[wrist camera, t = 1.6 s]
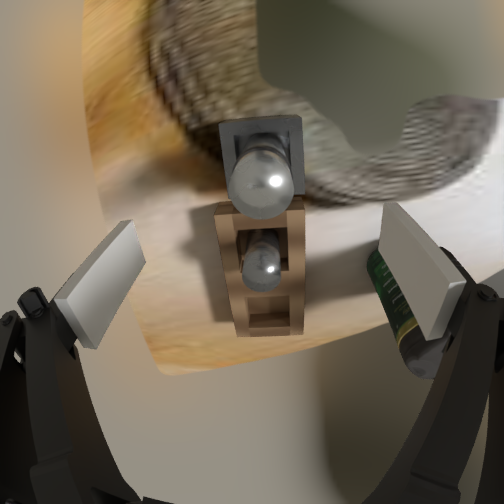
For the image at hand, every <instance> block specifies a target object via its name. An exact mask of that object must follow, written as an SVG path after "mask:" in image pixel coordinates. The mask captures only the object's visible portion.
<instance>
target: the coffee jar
mask: <svg viewBox="0 0 504 504" xmlns="http://www.w3.org/2000/svg"><path fill="white" fill-rule="evenodd" d="M367 271H368V273H369V275H370V278H371V280H372V282H373V284H374V287H375V289H376V291H377V293H378V296H379V298H380V300H381V303H382V305H383V308H384V310H385V313H386V315H387V318H388V320H389V323H390V326H391V328H392V331H393V333H394V336H395V339H396V341H397V345H398V348H399V350H400V353H401V355H402V358H403V360H404V362H405V365H406V366H407V367H408V369H409V370H410V371H411V372H412V373H413V374H414V375H416V376H417V377H419V378H422V379H434V378H435V376H436V373H437V371H438V368H439V365H440V362H441V359H442V356H443V354H444V353H442V350H443V348H444V346H445V344H446V342H447V340H448V339H449V337H450V335H451V332H450V330H449V328H448V326H447V328H446V330H445V332H444V334H443V336H442V338H437V339H432V340H428V341H426V339H425V337H424V334H423V332H422V330H421V328H420V326H419V324H418V322H417V320H416V318H415V316H414V314H413V312H412V310H411V308H410V306H409V304H408V302H407V300H406V298H405V296H404V294H403V293H402V291H401V289H400V287H399V285H398V283H397V282H396V280H395V278H394V276H393V274H392V273H391V271H390V269H389V267H388V266H387V264H386V262H385V260H384V259H383V257H382V255H381V254H380V252H379V250H378V249H377V250H375V252H374V253H373V254H372V255H371V256H370V258H369V260H368V262H367Z"/></svg>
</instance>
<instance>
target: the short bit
mask: <svg viewBox="0 0 504 504" xmlns="http://www.w3.org/2000/svg"><path fill="white" fill-rule="evenodd" d="M242 280H243V282H244V284H245V285H246V286H247V287H248V288H249V289H251V290H253V291H256V292H268V291H271V290H273V289H274V288H276V287H277V286H278V285H279V283H280V281H281V265H280V246H279V235H278V233H277V231H276V230H275V229H274V228H261V229H251V230H250V231H249V233H248V236H247V243H246V250H245V257H244V264H243V271H242Z"/></svg>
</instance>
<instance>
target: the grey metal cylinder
mask: <svg viewBox="0 0 504 504" xmlns="http://www.w3.org/2000/svg"><path fill="white" fill-rule="evenodd" d="M292 180H293V175H292V169H291V166H290V163H289V161H288V159H287V158H286V155H285V152H284V148H283V145H282V143H281V141H280V140H279V139H278V138H277V137H275V136H274V135H272V134H269V133H259V134H256V135H254V136H252V137H251V138H250V139H249V140H248V141H247V143H246V145H245V147H244V149H243V151H242V153H241V155H240V156H239V157H238V159H237V160H236V162H235V164H234V167H233V170H232V176H231V179H230V182H229V196H230V199H231V201H232V203H233V205H234V206H235V208H236V209H237V210H238V211H239V212H241V213H242V214H244V215H245V216H247V217H250V218H253V219H260V220H264V219H270V218H273V217H276V216H278V215H280V214H281V213H282V212H284V211H285V210H286V209H287V207H288V206H289V205H290V203H291V201H292V198H293V194H294V185H293V181H292Z"/></svg>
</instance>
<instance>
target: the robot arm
mask: <svg viewBox="0 0 504 504" xmlns="http://www.w3.org/2000/svg"><path fill="white" fill-rule="evenodd" d="M378 250H379V252H380V254H381V255H382V257H383V259H384V260H385V262H386V264H387V266H388V267H389V269H390V271H391V273H392V274H393V276H394V278H395V280H396V282H397V283H398V285H399V287H400V289H401V291H402V293H403V294H404V296H405V298H406V300H407V302H408V304H409V306H410V308H411V310H412V312H413V314H414V316H415V318H416V320H417V322H418V324H419V326H420V328H421V330H422V332H423V334H424V337H425V339H426V341H428V340H432V339H437V338H442V336H443V334H444V332H445V330H446V328H447V326H448V328H449V330H450V332H451V335H450V337H449V339H448V340H447V342H446V344H445V346H444V348H443V350H442V353H444V354H443V356H442V359H441V362H440V365H439V368H438V371H437V373H436V376H435V378H434V381H433V384H432V386H431V388H430V391H429V394H428V396H427V398H426V400H425V403H424V405H423V407H422V409H421V412H420V413H419V415H418V418H417V420H416V422H415V424H414V426H413V427H412V429H411V432H410V433H409V435H408V437H407V439H406V441H405V442H404V444H403V446H402V448H401V450H400V451H399V453H398V455H397V457H396V458H395V460H394V462H393V463H392V465H391V466H390V468H389V469H388V471H387V472H386V474H385V475H384V477H383V478H382V480H381V481H380V483H379V485H378V486H377V487H376V488H375V490H374V491H373V492H372V493H371V494H370V495H369V496H368V497H367V498H366V499H365V500H364V501H363V502H362V504H458V503H459V501H460V495H461V493H460V491H459V489H458V483H459V480H460V478H461V475H462V473H463V471H464V469H465V466H466V464H467V461H468V459H469V456H470V454H471V451H472V448H473V446H474V443H475V440H476V437H477V433H478V431H479V427H480V424H481V421H482V417H483V413H484V410H485V406H486V402H487V398H488V394H489V413H488V428H487V440H486V448H485V455H484V462H483V468H482V473H481V478H480V483H479V487H478V492H477V496H476V500H475V503H474V504H504V298H499V296H498V294H497V293H496V292H495V291H494V290H493V289H492V288H491V287H489V286H487V285H484V284H476V282H475V281H474V280H473V279H472V277H471V276H470V275H469V274H468V272H467V271H466V270H465V269H464V267H462V265H461V264H460V263H459V261H457V259H456V258H455V257H454V256H453V255H452V253H451V252H449V251H448V250H446V249H445V248H443V247H438V245H437V244H436V243H435V242H434V241H433V240H432V239H431V238H430V236H429V235H428V234H427V233H426V232H425V231H424V230H423V229H422V228H421V227H420V226H419V225H418V224H417V222H416V221H415V220H414V219H413V218H412V217H411V216H410V215H409V214H408V213H407V212H406V211H405V210H404V209H403V208H402V207H401V206H400V205H399V204H398V203H384V206H383V215H382V224H381V232H380V240H379V247H378ZM145 263H146V261H145V258H144V255H143V252H142V249H141V246H140V243H139V239H138V236H137V233H136V230H135V226H134V223H133V220H126V221H121V222H120V223H119V224H118V225H117V226H116V227H115V228H114V229H113V230H112V231H111V232H110V233H109V234H108V235H107V236H106V238H105V239H104V240H103V241H102V242H101V243H100V244H99V245H98V246H97V247H96V248H95V249H94V251H93V252H92V253H91V254H90V255H89V256H88V257H87V258H86V260H85V261H84V262H83V263H82V264H81V265H80V267H79V268H78V269H77V270H76V271H75V272H74V273H73V274H72V275H71V276H70V278H69V279H68V280H67V282H65V284H64V285H63V287H61V289H60V290H59V291H58V292H57V294H56V295H55V296H54V298H53V299H52V300H51V301H50V303H48V301H47V299H46V298H45V296H44V294H43V292H42V290H41V289H40V288H39V287H33V288H31V289H29V290H27V291H26V292H25V293H23V294H22V295H21V296H20V298H19V299H18V302H17V303H18V305H19V307H20V308H21V310H22V311H23V313H24V315H25V316H26V318H22V319H21V318H20V316H19V315H18V313H17V312H16V311H15V310H13V311H9V312H6V313H5V314H4V315H3V316H2V318H1V319H0V504H173V503H168V502H164V501H159V500H155V499H151V498H147V497H143V501H141V499H140V498H139V496H138V495H137V494H136V492H135V491H134V490H133V489H132V488H131V487H130V486H129V485H128V484H127V483H126V481H125V480H124V479H123V477H122V475H121V473H120V471H119V469H118V467H117V465H116V463H115V461H114V458H113V456H112V454H111V452H110V449H109V447H108V445H107V442H106V440H105V438H104V435H103V432H102V430H101V427H100V424H99V422H98V419H97V416H96V413H95V410H94V407H93V404H92V401H91V398H90V395H89V391H88V388H87V385H86V381H85V377H84V374H83V370H82V366H81V362H80V358H79V353H78V349H77V347H76V346H75V345H74V343H75V341H76V339H77V338H78V340H79V341H80V343H81V344H82V346H83V347H84V348H90V349H97V347H98V345H99V344H100V342H101V340H102V338H103V336H104V334H105V332H106V330H107V328H108V327H109V325H110V323H111V321H112V319H113V318H114V316H115V314H116V312H117V310H118V309H119V306H120V305H121V303H122V302H123V300H124V298H125V296H126V295H127V293H128V291H129V290H130V288H131V286H132V285H133V283H134V281H135V280H136V278H137V276H138V275H139V273H140V271H141V270H142V268H143V266H144V265H145ZM14 352H16V353H17V354H18V356H19V357H20V358H21V362H20V363H19V362H18V361H17V360H16V359H15V357H14Z"/></svg>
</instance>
